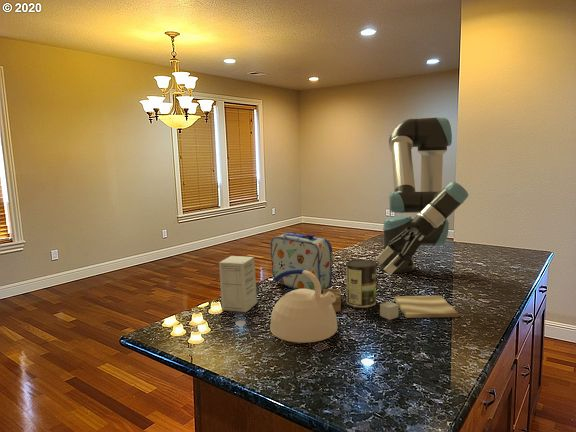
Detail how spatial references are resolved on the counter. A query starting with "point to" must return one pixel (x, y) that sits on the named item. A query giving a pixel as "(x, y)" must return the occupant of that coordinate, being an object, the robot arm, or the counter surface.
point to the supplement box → (238, 283)
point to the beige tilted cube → (389, 310)
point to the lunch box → (302, 259)
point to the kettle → (304, 313)
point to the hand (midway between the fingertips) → (382, 266)
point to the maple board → (424, 306)
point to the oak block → (333, 291)
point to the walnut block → (336, 302)
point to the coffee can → (361, 283)
